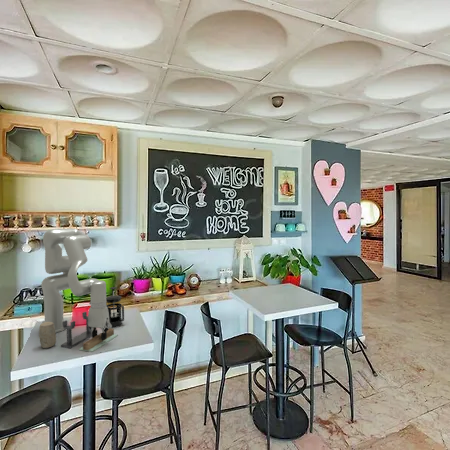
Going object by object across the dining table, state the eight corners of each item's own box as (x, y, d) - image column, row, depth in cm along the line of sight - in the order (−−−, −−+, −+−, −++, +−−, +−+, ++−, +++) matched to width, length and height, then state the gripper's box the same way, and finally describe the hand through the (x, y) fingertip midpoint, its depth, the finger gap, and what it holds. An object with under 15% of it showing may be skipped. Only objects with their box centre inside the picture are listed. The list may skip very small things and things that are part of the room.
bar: (83, 349, 145) (83, 343, 145) (109, 333, 164) (109, 328, 164) (88, 350, 144) (88, 344, 144) (113, 334, 163) (113, 328, 163)
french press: (101, 327, 175) (100, 288, 175) (110, 321, 185) (110, 285, 184) (119, 328, 173) (118, 289, 172) (127, 322, 182) (127, 286, 181)
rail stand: (60, 347, 149) (60, 322, 149) (87, 332, 167) (86, 310, 167) (70, 348, 147) (69, 323, 147) (96, 333, 166) (95, 311, 165)
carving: (42, 344, 152) (41, 321, 152) (58, 343, 154) (57, 320, 153) (37, 350, 146) (36, 326, 145) (54, 348, 148) (53, 324, 147)
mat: (79, 350, 146) (79, 348, 145) (105, 334, 165) (105, 333, 165) (92, 351, 143) (92, 350, 143) (117, 335, 163) (117, 334, 163)
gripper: (79, 305, 152) (80, 340, 153) (108, 308, 148) (108, 343, 148) (89, 301, 159) (90, 334, 160) (117, 303, 155) (117, 337, 155)
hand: (99, 338), depth 154 cm, fingers open, 4 cm apart
